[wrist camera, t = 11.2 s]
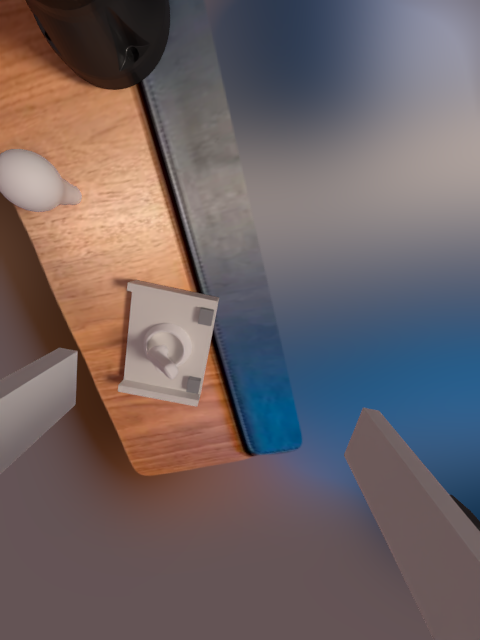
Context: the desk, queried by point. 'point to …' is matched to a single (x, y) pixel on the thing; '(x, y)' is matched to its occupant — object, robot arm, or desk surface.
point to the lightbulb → (34, 182)
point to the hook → (160, 352)
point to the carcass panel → (167, 341)
